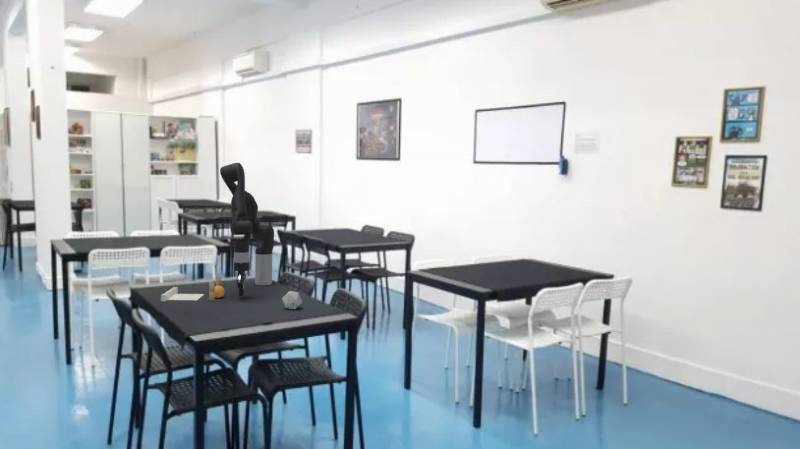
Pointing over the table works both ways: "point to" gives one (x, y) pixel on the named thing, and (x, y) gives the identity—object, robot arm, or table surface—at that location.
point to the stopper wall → (169, 294)
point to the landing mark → (186, 297)
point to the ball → (219, 291)
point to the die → (292, 300)
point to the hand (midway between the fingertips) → (241, 295)
